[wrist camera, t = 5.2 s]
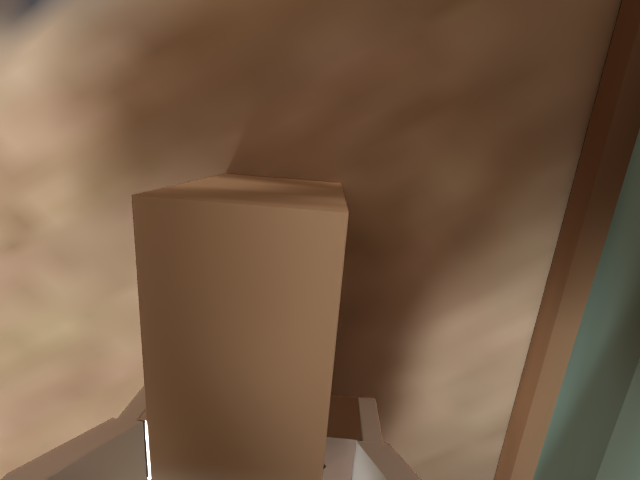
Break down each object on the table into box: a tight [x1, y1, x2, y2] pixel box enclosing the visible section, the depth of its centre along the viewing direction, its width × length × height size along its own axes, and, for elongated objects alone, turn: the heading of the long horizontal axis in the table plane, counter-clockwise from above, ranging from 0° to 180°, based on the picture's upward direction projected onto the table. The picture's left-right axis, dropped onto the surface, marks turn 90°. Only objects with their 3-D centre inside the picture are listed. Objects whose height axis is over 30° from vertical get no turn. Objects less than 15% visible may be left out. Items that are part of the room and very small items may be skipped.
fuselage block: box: [132, 174, 349, 480], centre depth 10 cm, size 4×13×5 cm, turn 176°
